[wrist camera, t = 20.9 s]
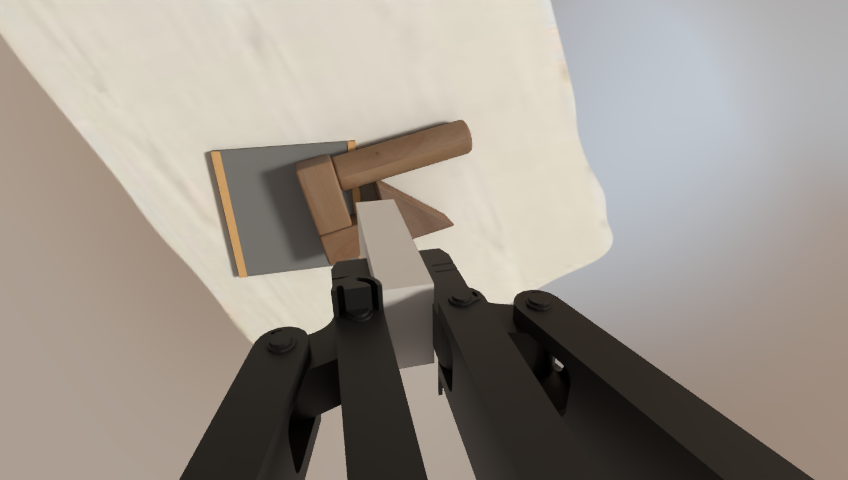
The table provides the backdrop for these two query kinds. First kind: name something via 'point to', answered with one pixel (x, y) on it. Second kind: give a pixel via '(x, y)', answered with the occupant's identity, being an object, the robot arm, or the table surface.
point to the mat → (273, 206)
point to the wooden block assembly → (376, 184)
